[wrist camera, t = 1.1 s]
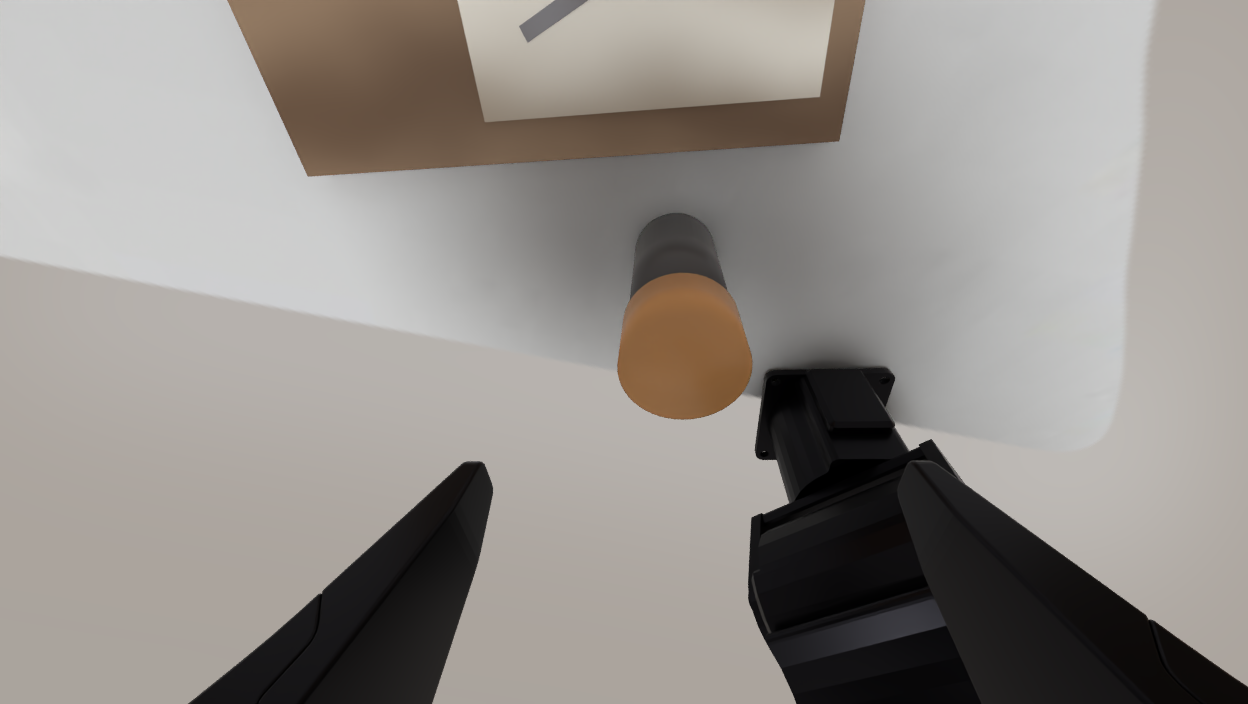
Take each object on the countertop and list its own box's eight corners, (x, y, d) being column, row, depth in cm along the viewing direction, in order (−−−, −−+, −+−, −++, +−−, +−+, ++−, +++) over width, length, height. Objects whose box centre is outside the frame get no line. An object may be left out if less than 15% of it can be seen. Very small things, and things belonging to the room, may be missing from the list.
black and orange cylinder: (715, 289, 21) (746, 419, 14) (634, 292, 22) (622, 420, 14) (719, 207, 19) (759, 309, 12) (629, 212, 19) (611, 314, 12)
